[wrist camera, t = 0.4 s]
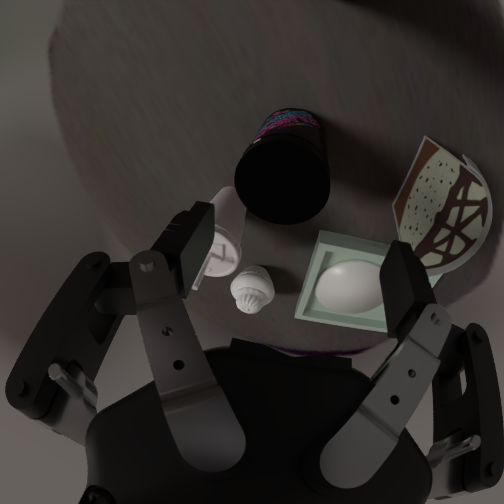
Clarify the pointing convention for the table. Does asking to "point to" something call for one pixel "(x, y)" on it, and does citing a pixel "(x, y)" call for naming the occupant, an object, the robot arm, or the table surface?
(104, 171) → the table surface
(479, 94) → the table surface
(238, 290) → the muffin
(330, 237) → the tray
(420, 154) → the food container
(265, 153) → the supplement container
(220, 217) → the smoothie
